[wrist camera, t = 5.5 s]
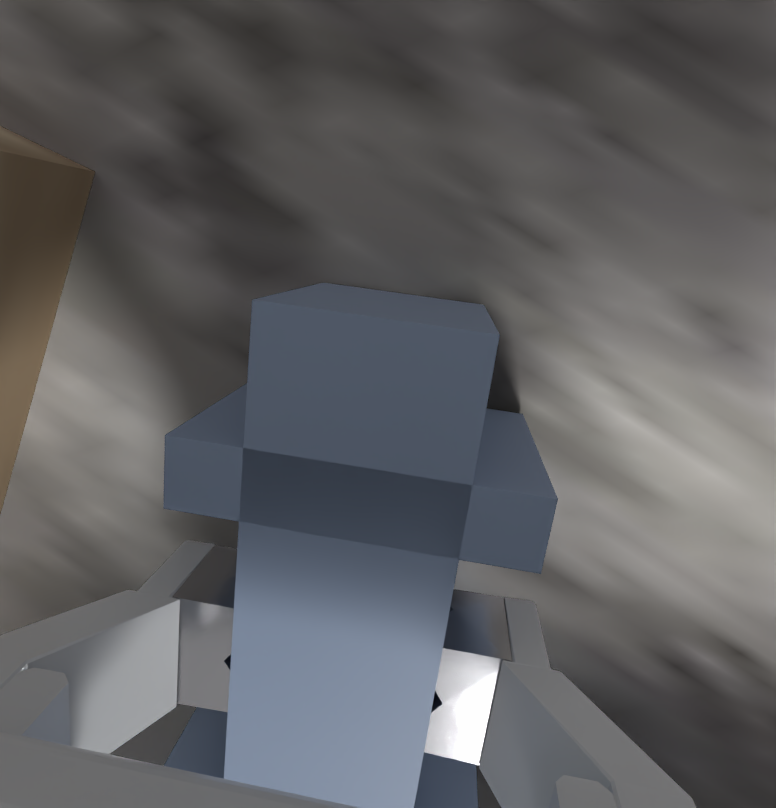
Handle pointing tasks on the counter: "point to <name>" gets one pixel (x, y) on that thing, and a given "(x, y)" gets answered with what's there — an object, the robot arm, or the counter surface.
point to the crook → (353, 537)
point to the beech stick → (31, 271)
